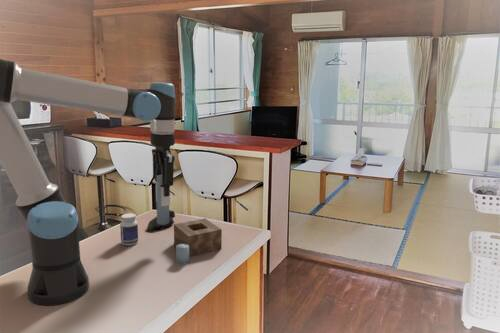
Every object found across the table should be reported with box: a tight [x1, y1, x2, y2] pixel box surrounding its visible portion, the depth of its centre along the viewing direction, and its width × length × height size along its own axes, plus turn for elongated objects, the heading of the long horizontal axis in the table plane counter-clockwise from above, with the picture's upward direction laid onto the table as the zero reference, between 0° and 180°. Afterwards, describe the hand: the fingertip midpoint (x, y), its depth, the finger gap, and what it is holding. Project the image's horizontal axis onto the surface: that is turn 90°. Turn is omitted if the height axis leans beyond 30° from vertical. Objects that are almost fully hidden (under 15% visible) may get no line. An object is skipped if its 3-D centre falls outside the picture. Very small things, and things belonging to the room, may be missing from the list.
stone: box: [146, 209, 176, 232], centre depth 162 cm, size 7×13×5 cm, turn 146°
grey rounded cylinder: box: [175, 244, 190, 265], centre depth 134 cm, size 4×4×5 cm
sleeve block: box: [173, 217, 223, 257], centre depth 145 cm, size 12×12×7 cm
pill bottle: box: [119, 212, 139, 247], centre depth 146 cm, size 6×6×10 cm
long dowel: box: [156, 174, 170, 225], centre depth 139 cm, size 4×4×16 cm
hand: (162, 203), depth 140 cm, fingers closed on long dowel, 4 cm apart
